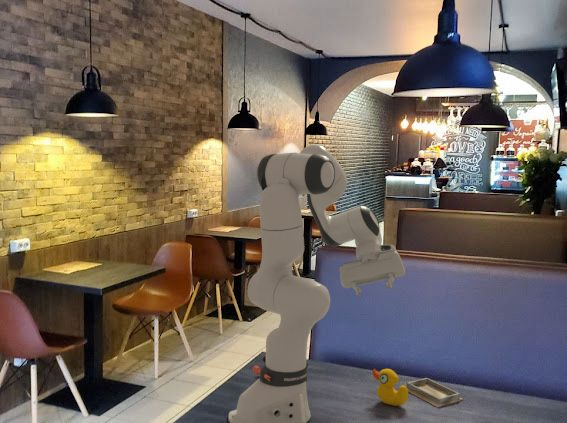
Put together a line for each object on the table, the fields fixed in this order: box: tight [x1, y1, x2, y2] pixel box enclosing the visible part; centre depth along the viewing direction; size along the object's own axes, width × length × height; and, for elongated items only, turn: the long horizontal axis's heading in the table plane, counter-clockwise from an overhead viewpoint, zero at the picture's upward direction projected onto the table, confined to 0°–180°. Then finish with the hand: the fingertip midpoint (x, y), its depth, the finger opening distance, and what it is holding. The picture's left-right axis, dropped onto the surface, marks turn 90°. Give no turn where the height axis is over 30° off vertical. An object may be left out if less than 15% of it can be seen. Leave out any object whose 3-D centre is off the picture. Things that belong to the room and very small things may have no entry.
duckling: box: [372, 368, 409, 407], centre depth 162 cm, size 11×5×10 cm, turn 52°
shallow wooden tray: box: [405, 377, 464, 408], centre depth 169 cm, size 10×14×2 cm
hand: (374, 291), depth 169 cm, fingers open, 8 cm apart
